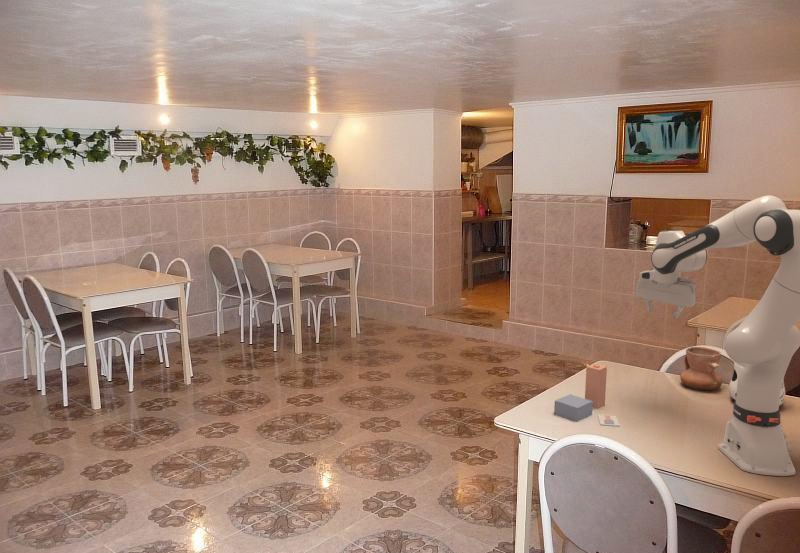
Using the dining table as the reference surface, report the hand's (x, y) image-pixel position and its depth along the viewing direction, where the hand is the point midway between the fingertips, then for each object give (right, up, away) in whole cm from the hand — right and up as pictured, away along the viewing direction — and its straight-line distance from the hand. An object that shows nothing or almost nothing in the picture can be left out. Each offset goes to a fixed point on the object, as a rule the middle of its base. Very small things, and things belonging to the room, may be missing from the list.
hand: (663, 314), depth 228 cm
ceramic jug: (+22, -29, +21) cm, 42 cm away
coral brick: (-23, -32, +2) cm, 39 cm away
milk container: (+34, -32, +4) cm, 47 cm away
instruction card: (-23, -34, -12) cm, 43 cm away
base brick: (-33, -34, -6) cm, 47 cm away
